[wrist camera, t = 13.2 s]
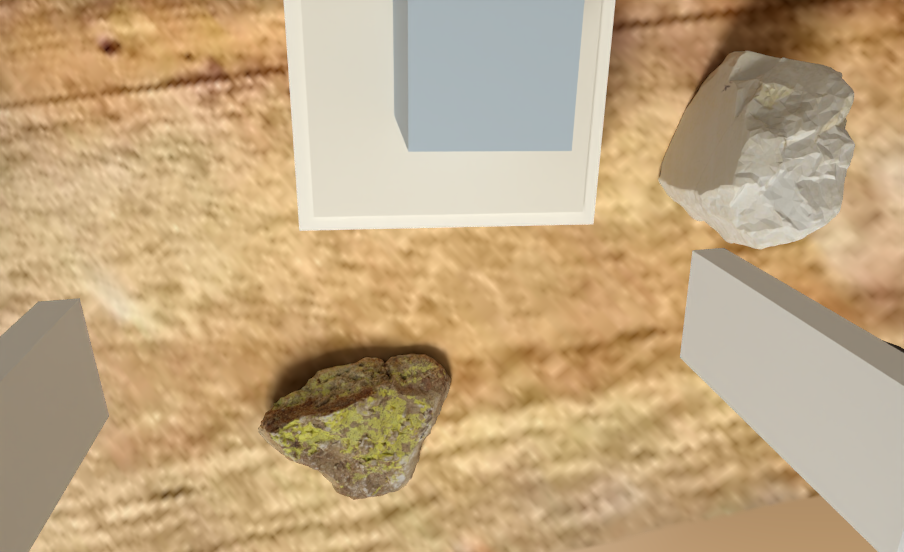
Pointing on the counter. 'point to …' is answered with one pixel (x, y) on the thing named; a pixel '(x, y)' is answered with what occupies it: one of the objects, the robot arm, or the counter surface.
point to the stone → (762, 149)
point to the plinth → (422, 173)
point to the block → (486, 74)
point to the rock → (361, 422)
